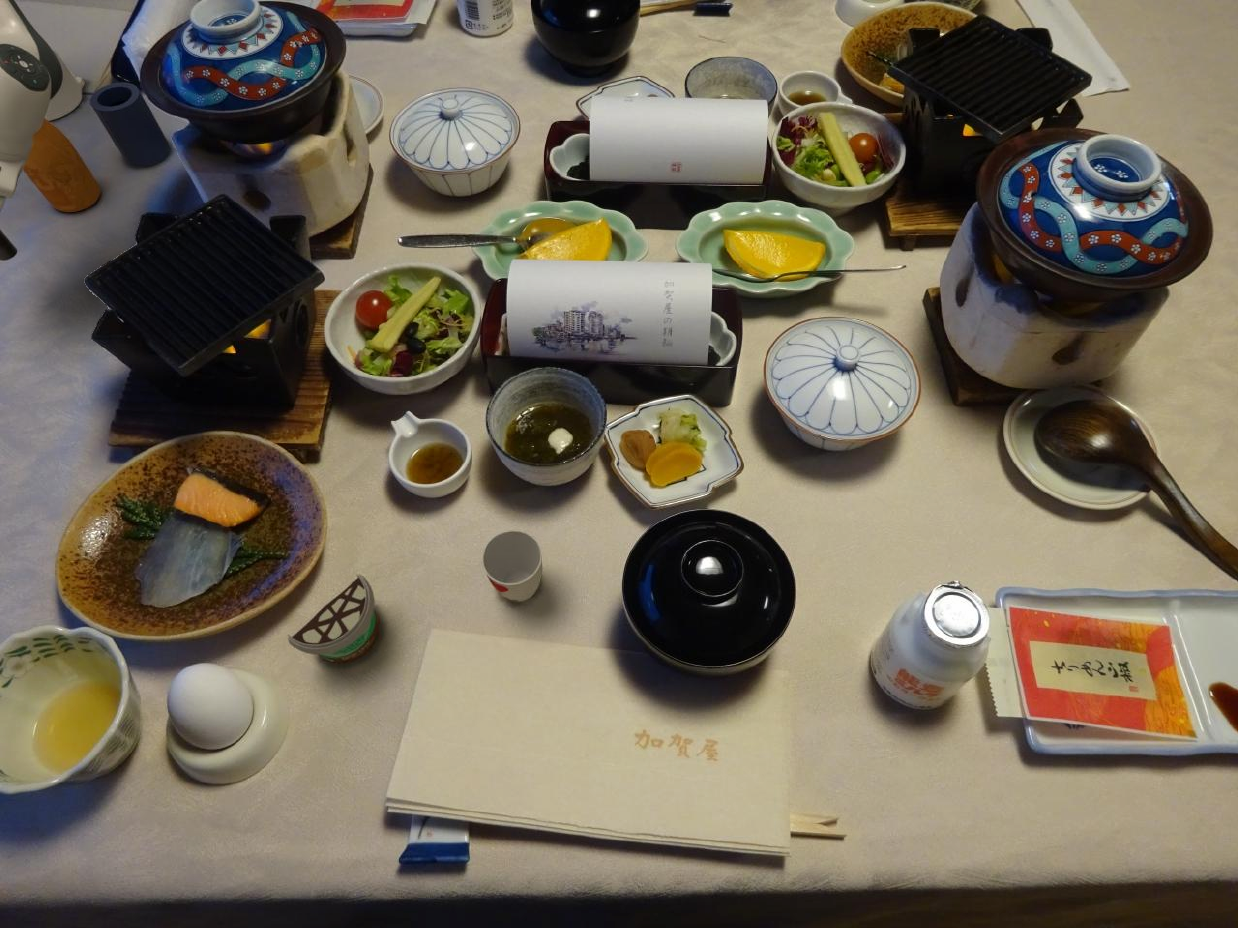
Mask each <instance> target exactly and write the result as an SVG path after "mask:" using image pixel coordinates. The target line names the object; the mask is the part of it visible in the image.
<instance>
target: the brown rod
mask: <svg viewBox="0 0 1238 928" xmlns="http://www.w3.org/2000/svg"><path fill="white" fill-rule="evenodd" d="M17 254H18V249H17V247H16V246H15V245H14V244H13V243H12V241H11V240H10V239H9V238H8V236H6V234H5V233H4V232H3V231H2V230H1V229H0V261H1V262H4V261H9V260H11V259H13V258H14V257H16V255H17Z"/></svg>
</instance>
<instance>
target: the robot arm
mask: <svg viewBox="0 0 1238 928" xmlns="http://www.w3.org/2000/svg"><path fill="white" fill-rule="evenodd" d="M85 84H86V82H85V80H84V79H83V78H82V77H81V76H78V75H74V74H73V73H72V72H71V70H70V68H69V67H68V65H67V64H66V63H65V61H64V60H63V58H62V57H61V56H60V54H59V53H58V52H57V51H56V50H53V48H52V47H51V46H50V45H49V44H48V42H47V41H46V40H45V39H44V37H42V35H41V34H39V32H38V31H37V30H36V29H35V28H34V26H33V24H31V22H30V21H29V20H28V19H27V17H26V15H25V14H24V13H23V10H21V8H20V6H19V5H18V4H17V2H16V0H0V212H2V209H3V208H4V206H5V203H6V200H7V198H8V199H12V198H13V197H14V194H15V192H16V189H17V186H18V180H19V178H20V176H21V175H22V172H24V170H23V169H24V166H25V164H26V162H27V159H28V157H29V154H30V152H31V149H32V147H33V136H34V134H35V133H36V132H37V131H38V130H39V129H40V127H41V125H42V123H43V121H44V118H45V119H46V120H48V121H49V122H51V121H55V120H57V119H60V118H62V117H65V116H66V115H68V114H70V113H72V112H73V111H75V110H76V108H77V107H78V106H79V105H80V104H81V102H82V100H83V88H84V87H85Z"/></svg>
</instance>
